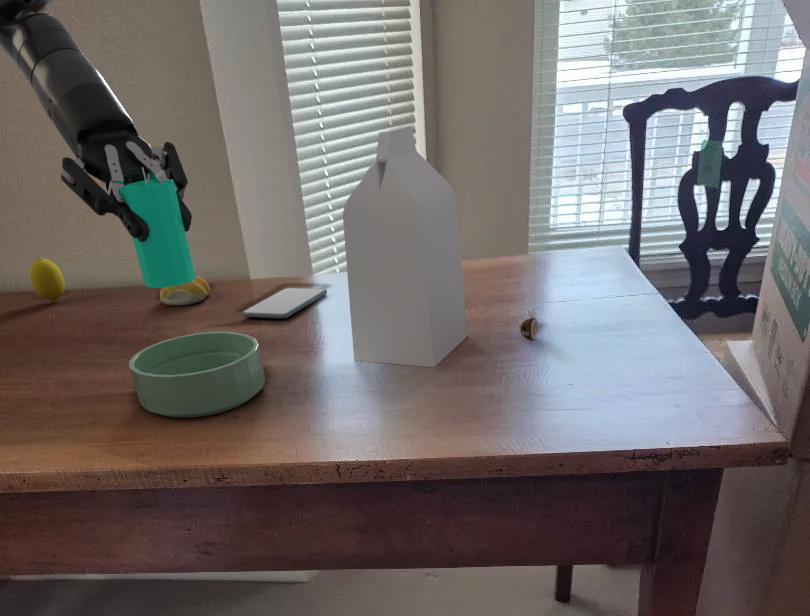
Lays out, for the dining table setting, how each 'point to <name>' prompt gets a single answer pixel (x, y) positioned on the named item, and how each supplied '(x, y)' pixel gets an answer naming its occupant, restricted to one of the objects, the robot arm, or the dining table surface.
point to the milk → (403, 259)
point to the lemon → (47, 279)
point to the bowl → (198, 374)
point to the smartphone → (284, 303)
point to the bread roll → (185, 293)
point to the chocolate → (530, 327)
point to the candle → (160, 233)
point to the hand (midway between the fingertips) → (166, 231)
